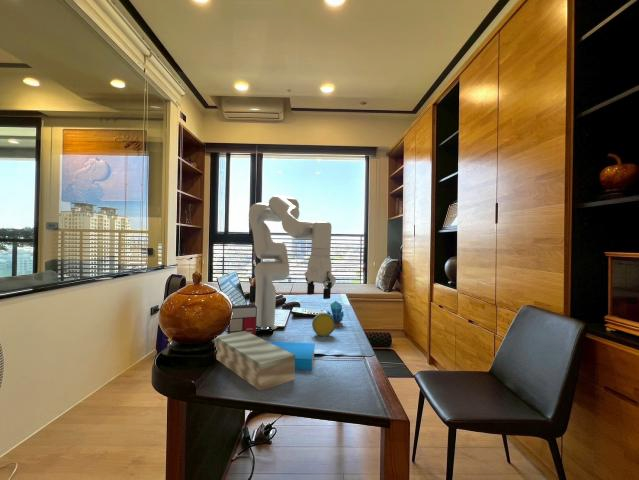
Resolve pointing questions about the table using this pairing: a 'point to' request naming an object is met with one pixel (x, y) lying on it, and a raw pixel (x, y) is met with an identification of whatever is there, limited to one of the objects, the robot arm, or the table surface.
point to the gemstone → (336, 313)
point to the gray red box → (243, 319)
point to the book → (299, 353)
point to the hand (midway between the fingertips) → (318, 296)
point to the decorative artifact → (323, 324)
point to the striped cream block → (255, 359)
